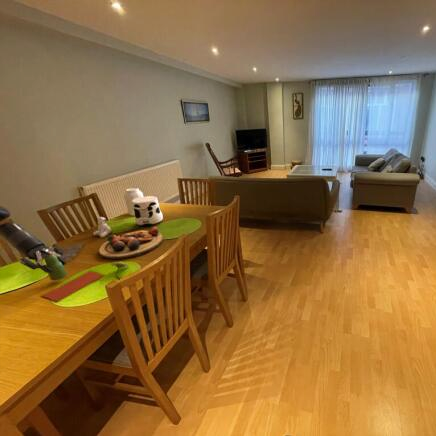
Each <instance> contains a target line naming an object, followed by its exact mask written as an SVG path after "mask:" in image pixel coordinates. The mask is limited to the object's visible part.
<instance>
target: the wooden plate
mask: <svg viewBox="0 0 436 436" xmlns="http://www.w3.org/2000/svg"><path fill="white" fill-rule="evenodd" d="M162 242H163V234H161V233H160V232H159V229H158V227H156V226H154V227H151V228H150V229H149V230H136V231H131V232H128V233H122V234H119V235H116V234H110V235H107V239H106V241H105V242H103V244H101V246H100V247H99V248H98V254H99V256H100V257H103V258H104V259H108V260H120V259H128V258H132V257H136V256H140V255H143V254H146V253H148V252H150V251H152V250H153V249H155V248H157V247H159V245H160V244H161V243H162Z"/></svg>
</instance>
